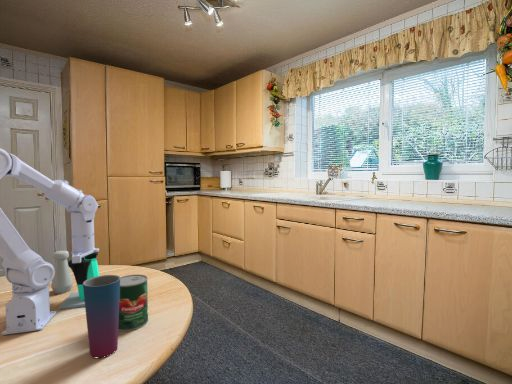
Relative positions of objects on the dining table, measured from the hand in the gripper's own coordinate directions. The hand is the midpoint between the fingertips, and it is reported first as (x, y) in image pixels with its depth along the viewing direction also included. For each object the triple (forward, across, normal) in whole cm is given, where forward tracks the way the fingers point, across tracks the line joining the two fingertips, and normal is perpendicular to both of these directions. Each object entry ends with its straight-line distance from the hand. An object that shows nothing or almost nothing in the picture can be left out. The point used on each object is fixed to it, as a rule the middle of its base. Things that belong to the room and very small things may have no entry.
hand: (84, 280), depth 85 cm
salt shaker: (+6, +10, +9) cm, 15 cm away
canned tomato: (+6, -19, -15) cm, 25 cm away
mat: (+6, 0, 0) cm, 6 cm away
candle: (+5, 0, -2) cm, 5 cm away
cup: (+6, -30, -11) cm, 33 cm away
